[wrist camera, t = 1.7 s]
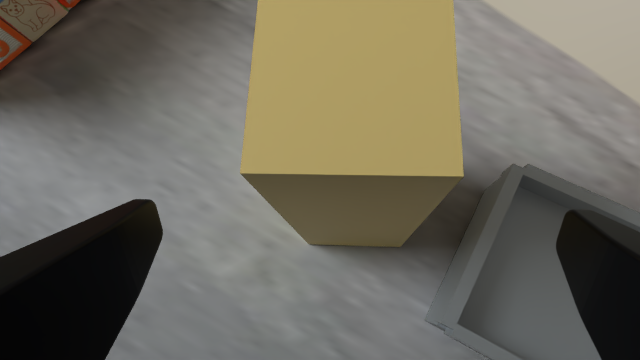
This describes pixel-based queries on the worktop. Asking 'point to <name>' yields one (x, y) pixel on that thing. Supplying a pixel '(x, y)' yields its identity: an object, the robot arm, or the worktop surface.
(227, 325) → the worktop surface
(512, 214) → the base tray
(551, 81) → the worktop surface
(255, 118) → the mustard brick
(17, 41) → the stack of blocks
